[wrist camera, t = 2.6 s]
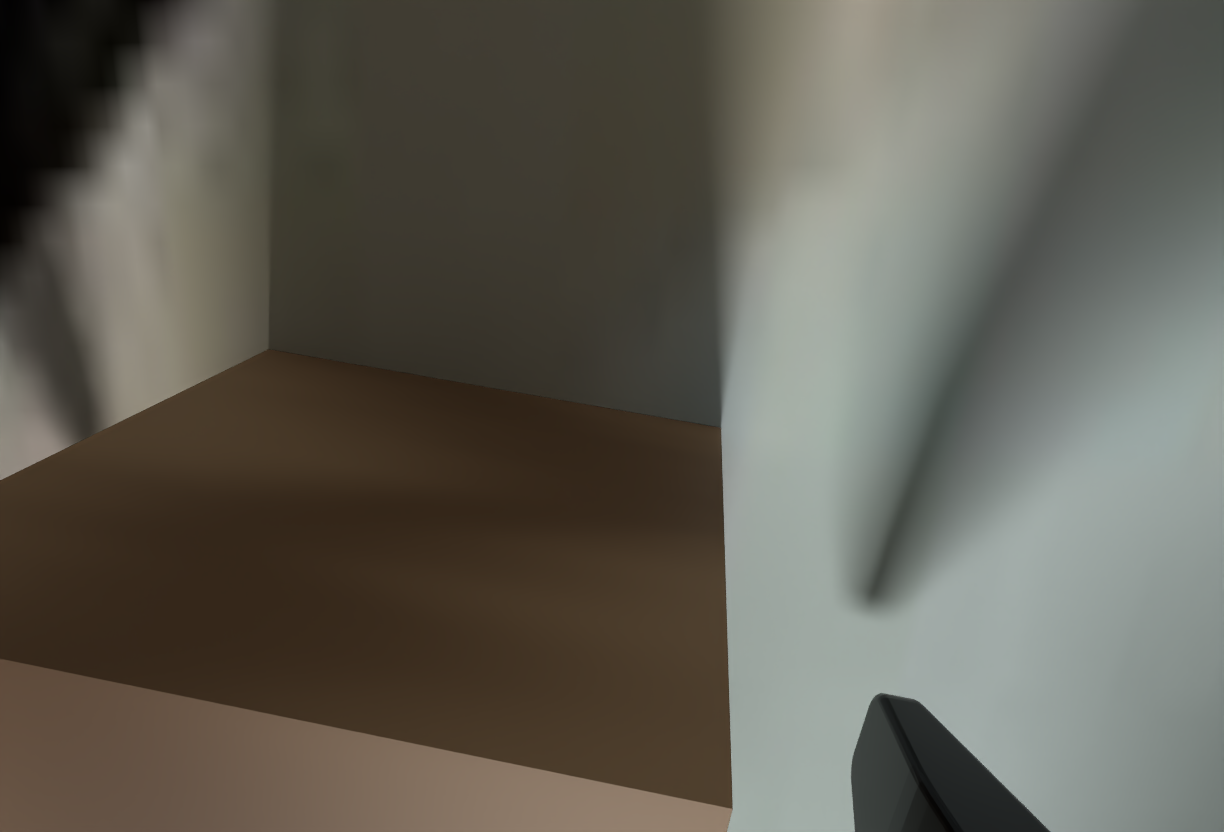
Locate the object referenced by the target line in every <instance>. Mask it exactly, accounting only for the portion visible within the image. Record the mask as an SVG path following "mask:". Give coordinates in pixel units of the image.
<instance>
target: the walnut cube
mask: <svg viewBox="0 0 1224 832" xmlns="http://www.w3.org/2000/svg"><path fill="white" fill-rule="evenodd" d="M732 809H733V808H732V775H731V742H730V709H729V677H728V644H727V611H726V578H725V545H724V512H723V479H722V446H721V428H719V427H713V426H707V425H702V424H696V423H690V422H684V421H679V420H673V419H667V418H661V417H656V416H650V415H644V414H638V413H633V412H627V411H621V410H615V409H610V408H604V407H598V406H592V405H586V404H581V403H575V402H569V401H563V400H558V399H552V398H546V397H540V396H535V395H529V394H523V393H517V392H512V391H506V390H500V389H494V388H489V387H483V386H477V385H471V384H466V383H460V382H454V381H448V380H443V379H437V378H431V377H425V376H420V375H414V374H408V373H402V372H396V371H391V370H385V369H379V368H373V367H368V366H362V365H356V364H350V363H345V362H339V361H333V360H327V359H322V358H316V357H310V356H304V355H299V354H293V353H287V352H281V351H276V350H270V349H268V350H266V351H264V352H262V353H260V354H258V355H256V356H254V357H252V358H250V359H248V360H246V361H244V362H242V363H240V364H238V365H236V366H233V367H231V368H229V369H227V370H225V371H223V372H221V373H219V374H217V375H215V376H213V377H211V378H209V379H207V380H205V381H203V382H201V383H199V384H197V385H195V386H193V387H191V388H188V389H186V390H184V391H182V392H180V393H178V394H176V395H174V396H172V397H170V398H168V399H166V400H164V401H162V402H160V403H158V404H156V405H154V406H152V407H150V408H148V409H146V410H143V411H141V412H139V413H137V414H135V415H133V416H131V417H129V418H127V419H125V420H123V421H121V422H119V423H117V424H115V425H113V426H111V427H109V428H107V429H105V430H103V431H101V432H99V433H96V434H94V435H92V436H90V437H88V438H86V439H84V440H82V441H80V442H78V443H76V444H74V445H72V446H70V447H68V448H66V449H64V450H62V451H60V452H58V453H56V454H54V455H51V456H49V457H47V458H45V459H43V460H41V461H39V462H37V463H35V464H33V465H31V466H29V467H27V468H25V469H23V470H21V471H19V472H17V473H15V474H13V475H11V476H9V477H6V478H4V479H2V480H0V832H727V828H728V825H729V821H730V817H731V813H732Z"/></svg>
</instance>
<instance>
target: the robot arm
mask: <svg viewBox="0 0 1224 832" xmlns="http://www.w3.org/2000/svg"><path fill="white" fill-rule="evenodd" d="M851 783H852V797H853V810H854V824H855V832H1050V831H1049V830H1048V829H1047V828H1046V827H1045V826H1044V825H1043V824H1042V823H1041V822H1040V821H1039V820H1038V819H1037V818H1036V817H1035V816H1034V815H1033V814H1032V813H1031V812H1030V811H1029V810H1028V809H1027V808H1026V807H1025V806H1024V805H1023V804H1022V803H1021V802H1020V801H1019V800H1018V799H1017V798H1016V797H1015V796H1014V795H1013V794H1012V793H1011V792H1010V791H1009V790H1008V789H1007V788H1006V787H1005V786H1004V785H1003V784H1002V783H1001V782H1000V781H999V780H998V779H997V778H996V777H995V776H994V775H993V774H992V773H991V772H990V771H989V770H988V769H987V768H986V767H985V766H984V765H983V764H982V763H981V762H980V761H979V760H978V759H977V758H976V757H975V756H974V755H973V754H972V753H971V752H970V751H969V750H968V749H967V748H966V747H965V746H964V745H962V744H961V743H960V742H959V741H958V740H957V739H956V738H955V737H954V736H953V735H952V734H951V733H950V732H949V731H948V730H947V729H946V728H945V727H944V726H943V725H942V724H941V723H940V722H939V721H938V720H937V719H936V718H935V717H934V716H933V715H932V714H931V713H930V712H929V711H928V710H927V709H926V708H925V707H924V706H923V705H922V704H921V703H920V702H918V701H916V700H914V699H910V698H905V697H900V696H894V695H889V694H884V693H880V694H878V695H876V696H875V697H874V698H873V700H872V701H871V703H870V705H869V708H868V711H867V714H866V717H865V721H864V724H863V727H862V730H861V733H860V736H859V739H858V742H857V745H856V748H855V751H854V755H853V760H852V767H851Z"/></svg>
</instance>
